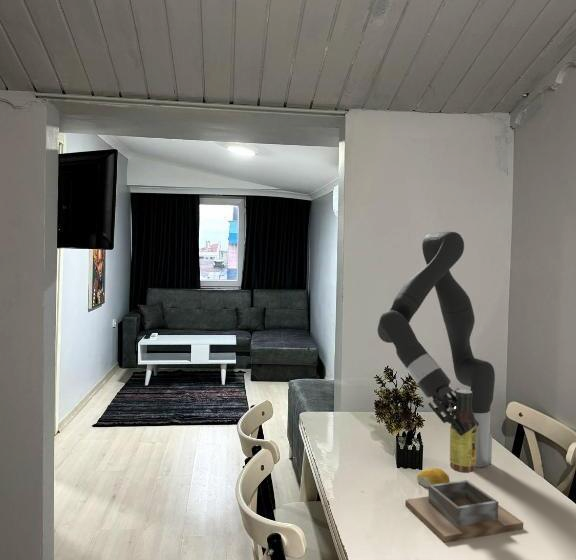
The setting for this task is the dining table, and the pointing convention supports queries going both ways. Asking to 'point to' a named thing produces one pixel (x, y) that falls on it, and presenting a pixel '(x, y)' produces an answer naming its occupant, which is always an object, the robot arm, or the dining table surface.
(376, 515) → the dining table surface
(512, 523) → the bottle stand
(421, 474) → the bread roll
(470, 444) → the sauce bottle
